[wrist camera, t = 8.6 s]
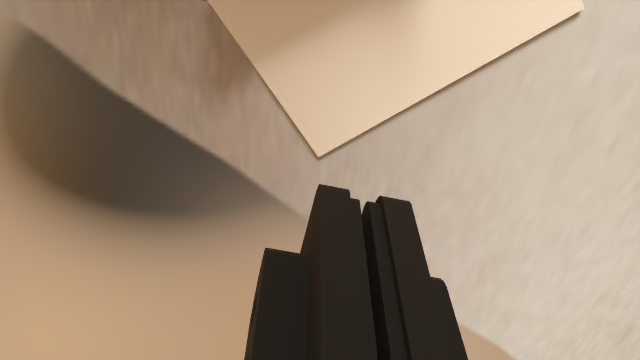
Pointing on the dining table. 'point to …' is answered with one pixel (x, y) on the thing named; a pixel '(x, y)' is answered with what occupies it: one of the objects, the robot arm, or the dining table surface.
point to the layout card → (374, 52)
